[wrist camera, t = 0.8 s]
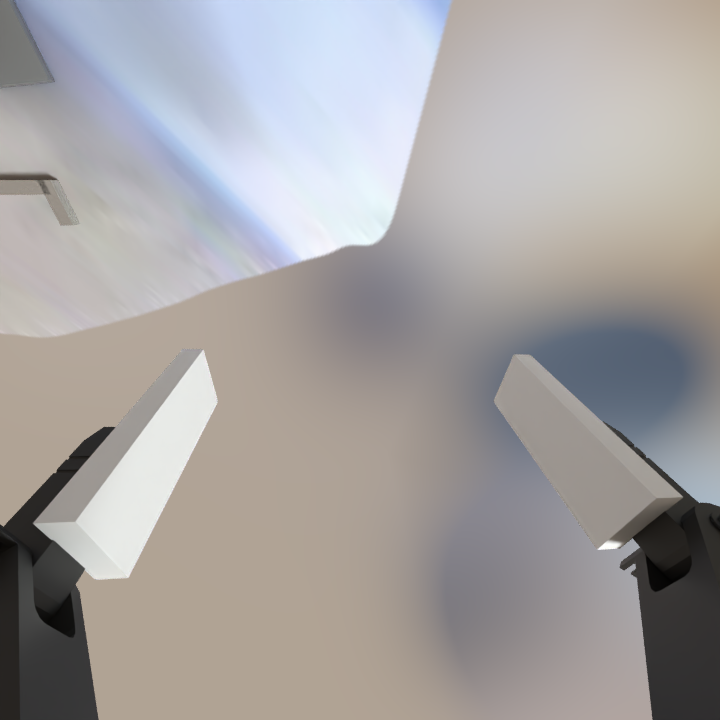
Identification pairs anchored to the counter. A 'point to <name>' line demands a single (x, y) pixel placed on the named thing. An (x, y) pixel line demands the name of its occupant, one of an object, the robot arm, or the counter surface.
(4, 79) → the coaster
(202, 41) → the counter surface
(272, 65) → the counter surface
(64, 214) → the crook tool
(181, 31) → the counter surface
